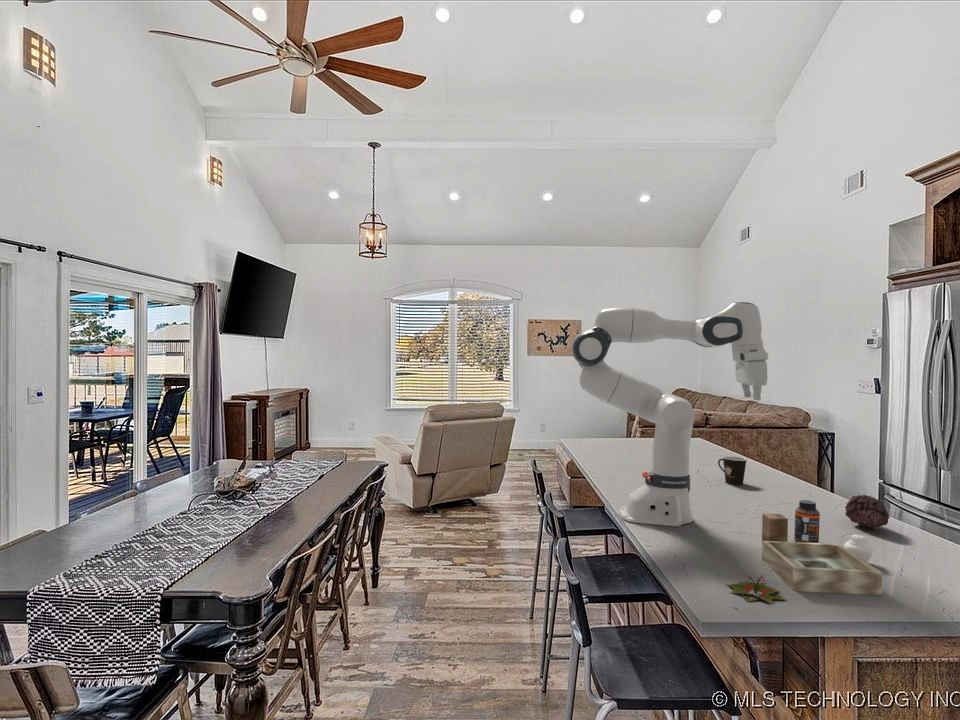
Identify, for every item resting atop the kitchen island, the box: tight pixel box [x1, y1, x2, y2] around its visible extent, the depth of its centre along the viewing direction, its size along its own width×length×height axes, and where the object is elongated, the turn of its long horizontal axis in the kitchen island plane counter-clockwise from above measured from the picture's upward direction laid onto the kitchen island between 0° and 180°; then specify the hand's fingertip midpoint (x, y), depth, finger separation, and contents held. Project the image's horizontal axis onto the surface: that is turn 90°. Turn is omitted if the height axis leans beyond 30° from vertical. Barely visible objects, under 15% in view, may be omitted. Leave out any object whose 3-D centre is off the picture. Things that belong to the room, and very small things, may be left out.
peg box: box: [761, 540, 883, 596], centre depth 130 cm, size 18×18×5 cm
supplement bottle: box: [793, 499, 821, 543], centre depth 154 cm, size 6×6×11 cm
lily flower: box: [725, 570, 788, 605], centre depth 121 cm, size 12×12×5 cm
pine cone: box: [845, 494, 890, 529], centre depth 167 cm, size 18×10×10 cm, turn 170°
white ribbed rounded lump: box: [843, 534, 875, 563], centre depth 140 cm, size 6×6×7 cm
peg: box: [761, 512, 789, 542], centre depth 145 cm, size 4×4×10 cm
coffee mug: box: [717, 456, 747, 486], centre depth 224 cm, size 12×9×10 cm
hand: (752, 398), depth 171 cm, fingers open, 8 cm apart
